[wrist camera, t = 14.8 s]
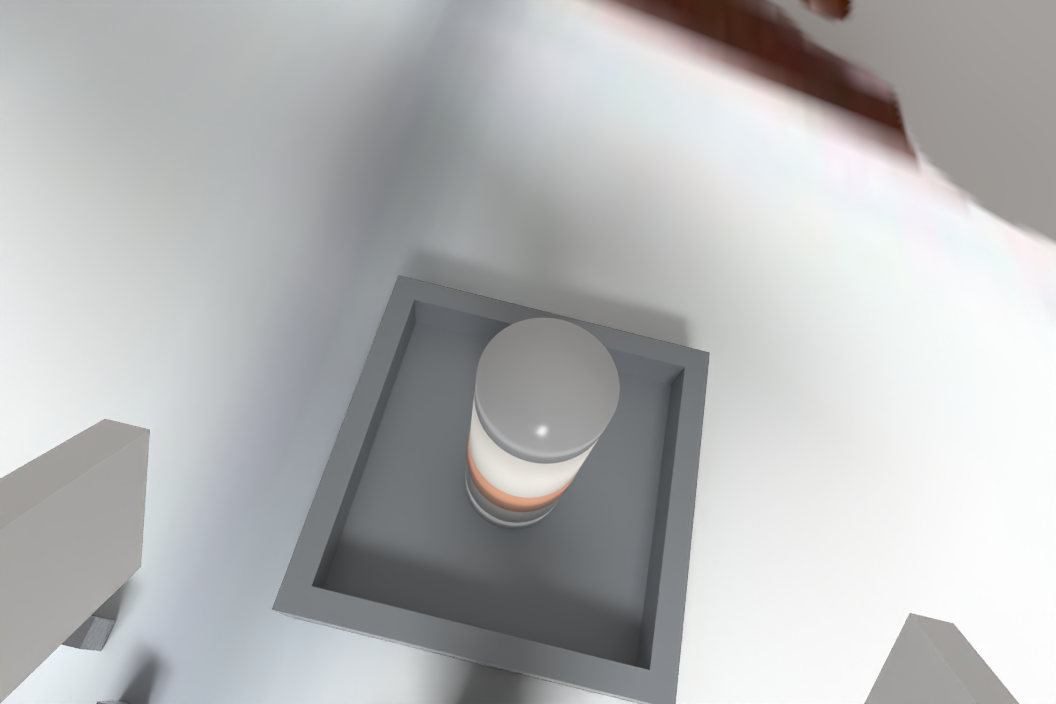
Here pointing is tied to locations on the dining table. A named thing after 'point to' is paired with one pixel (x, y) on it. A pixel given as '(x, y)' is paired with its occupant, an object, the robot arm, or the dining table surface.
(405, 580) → the charcoal tray
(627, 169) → the dining table surface
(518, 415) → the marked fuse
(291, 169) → the dining table surface
